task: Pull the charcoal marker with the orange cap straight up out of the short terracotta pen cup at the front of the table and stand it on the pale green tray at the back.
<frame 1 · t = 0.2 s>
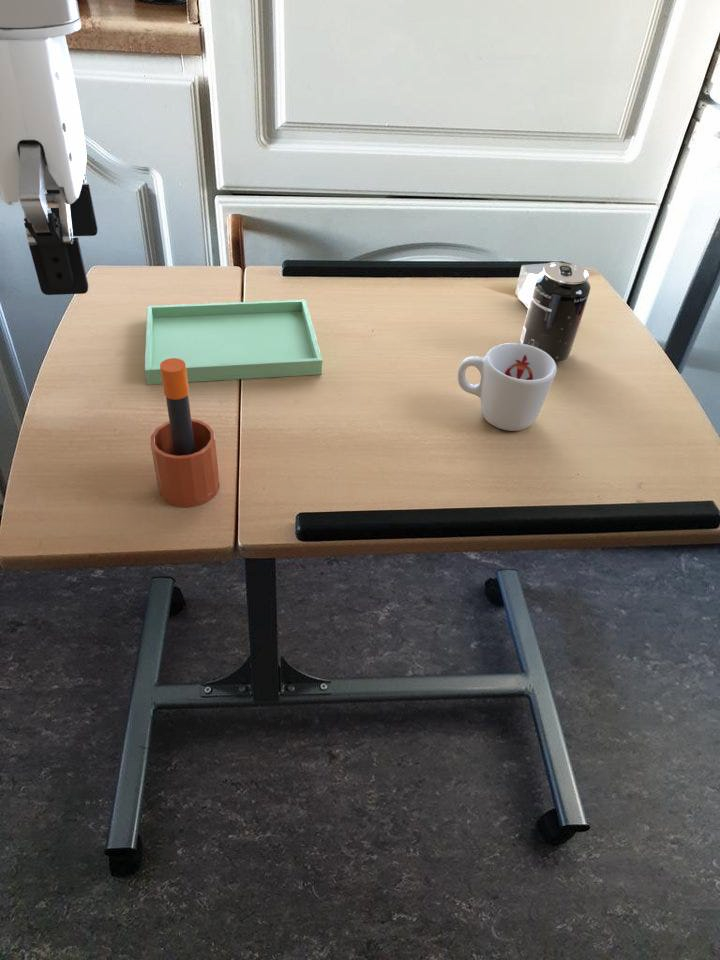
hand: (72, 261, 55), 24 cm above the table, tool pointing down, fingers open, 9 cm apart
pen cup: (189, 486, 72), on the table, touching marker
tray: (232, 346, 92), on the table
beverage can: (542, 355, 95), on the table
cup: (495, 415, 84), on the table
small box: (538, 302, 106), on the table
marker: (188, 480, 71), point 1 cm above the table, touching pen cup
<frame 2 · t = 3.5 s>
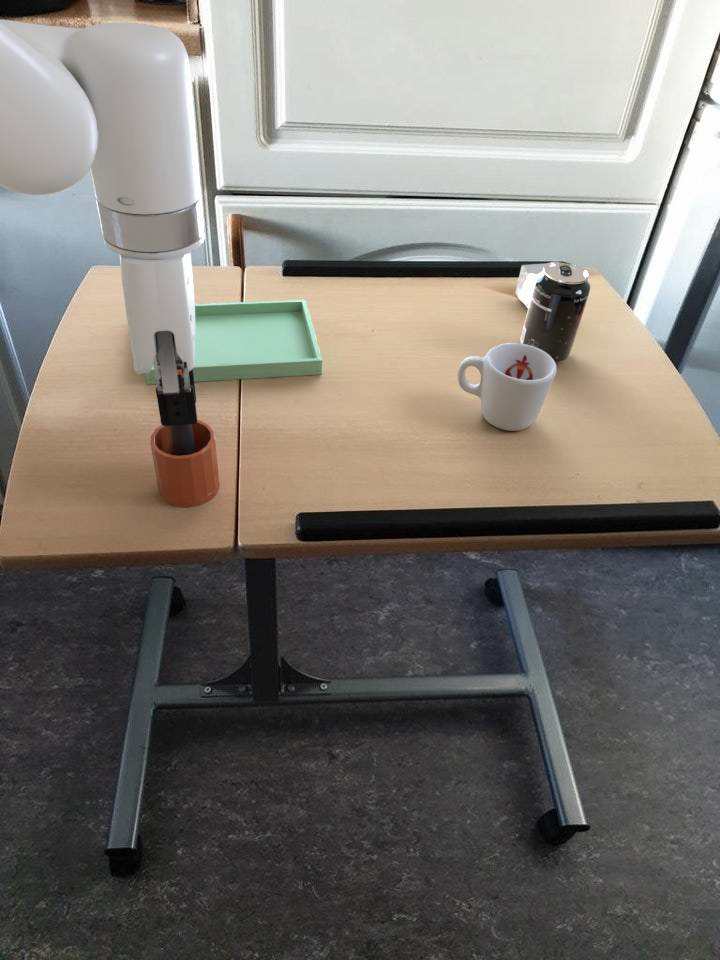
hand: (179, 412, 65), 10 cm above the table, tool pointing down, fingers closed on marker, 2 cm apart
marker: (188, 480, 71), point 1 cm above the table, touching gripper, pen cup
everything else where it was.
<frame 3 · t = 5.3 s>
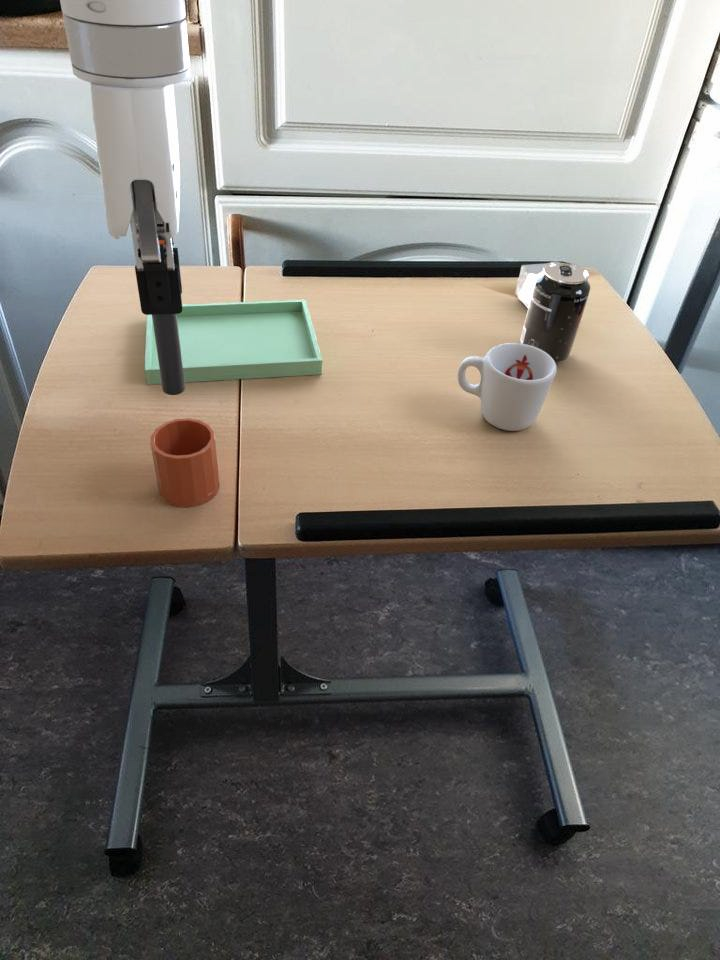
hand: (162, 301, 58), 21 cm above the table, tool pointing down, fingers closed on marker
pen cup: (189, 486, 72), on the table
marker: (173, 389, 64), point 12 cm above the table, touching gripper
everything else where it was.
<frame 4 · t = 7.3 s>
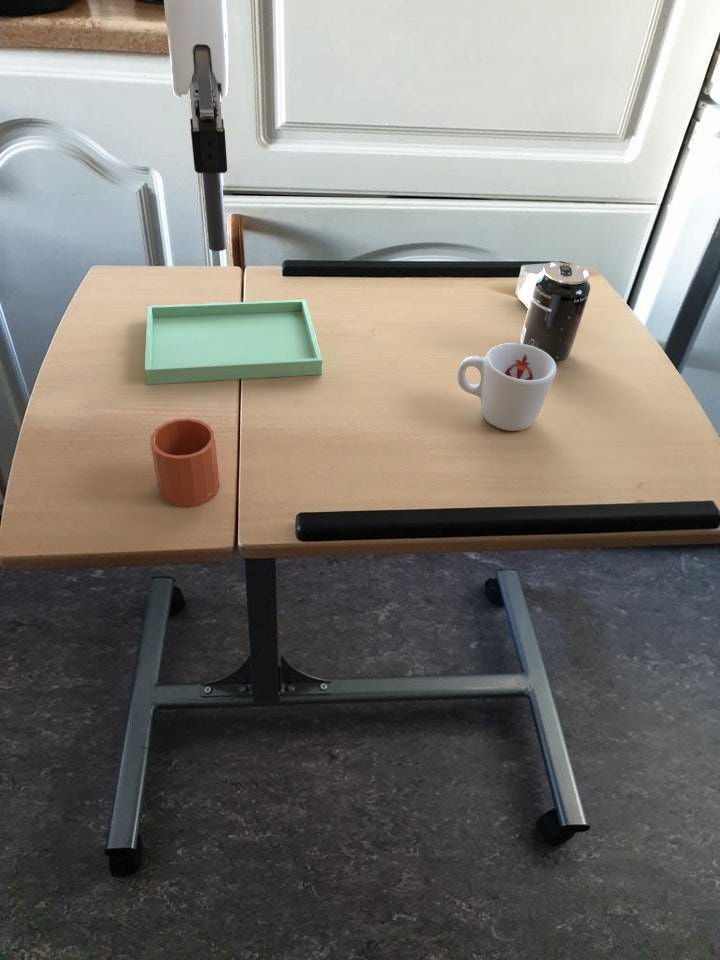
hand: (210, 165, 71), 24 cm above the table, tool pointing down, fingers closed on marker
marker: (217, 247, 77), point 16 cm above the table, touching gripper
everything else where it was.
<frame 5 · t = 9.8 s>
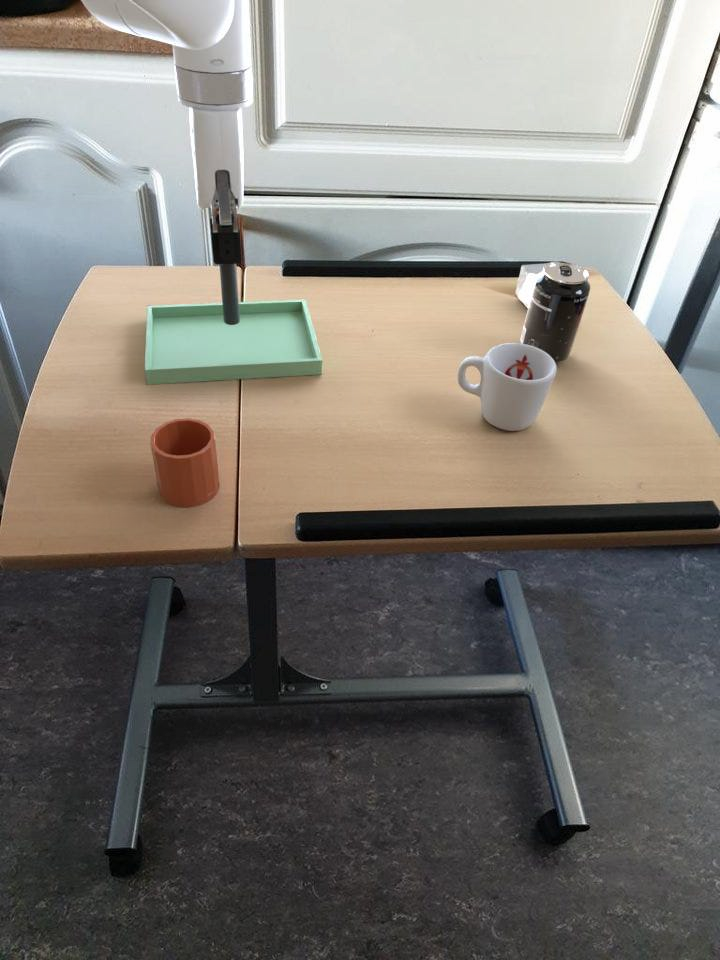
hand: (226, 255, 83), 12 cm above the table, tool pointing down, fingers closed on marker
marker: (231, 321, 89), point 4 cm above the table, touching gripper
everything else where it was.
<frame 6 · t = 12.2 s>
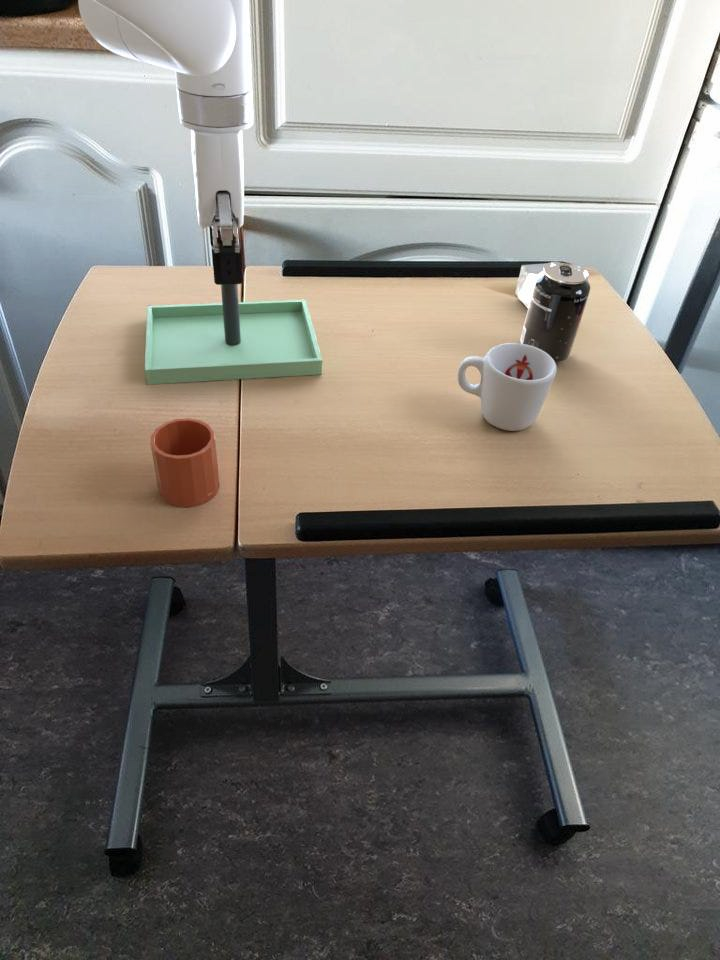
hand: (226, 263, 84), 11 cm above the table, tool pointing down, fingers open, 9 cm apart
marker: (233, 341, 91), point 1 cm above the table, touching tray
everything else where it was.
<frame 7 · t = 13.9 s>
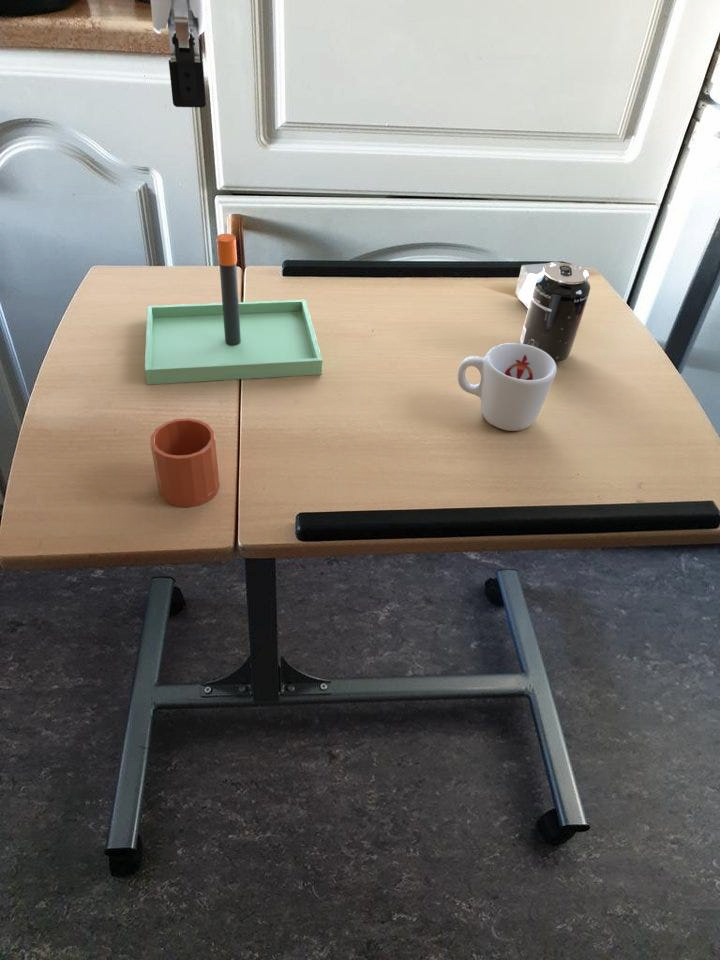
hand: (189, 92, 74), 29 cm above the table, tool pointing down, fingers open, 9 cm apart
nothing on the table moved.
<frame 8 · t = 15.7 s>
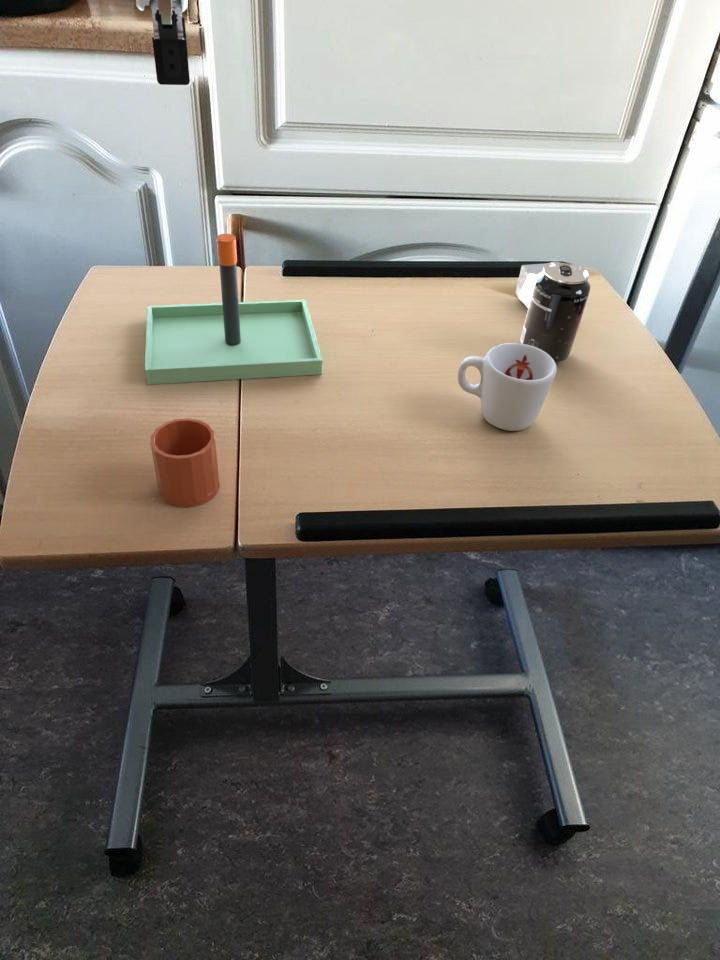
hand: (173, 71, 74), 30 cm above the table, tool pointing down, fingers open, 9 cm apart
nothing on the table moved.
at the end: marker inside the target area in the tray (0.1 cm from its centre), point 0.6 cm above the tray's base; marker moved 26.8 cm from its start; the gripper is holding nothing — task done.
